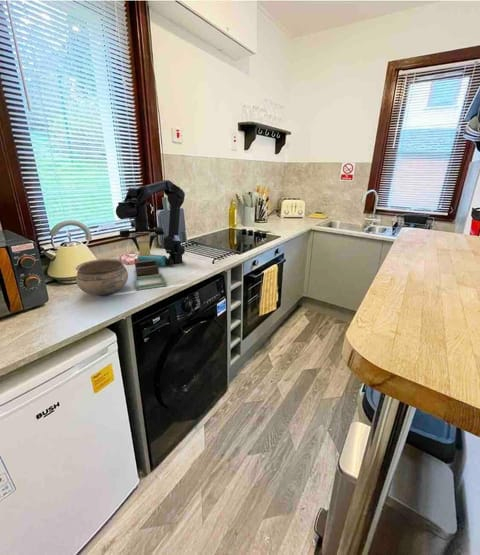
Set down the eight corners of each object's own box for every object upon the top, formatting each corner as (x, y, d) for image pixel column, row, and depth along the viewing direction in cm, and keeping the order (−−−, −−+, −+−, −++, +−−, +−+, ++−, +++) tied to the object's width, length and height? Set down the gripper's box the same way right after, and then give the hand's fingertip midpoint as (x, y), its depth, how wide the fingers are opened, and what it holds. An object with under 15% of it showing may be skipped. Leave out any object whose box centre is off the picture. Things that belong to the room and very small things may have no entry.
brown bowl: (66, 294, 112) (59, 266, 108) (108, 279, 127) (103, 254, 123) (103, 309, 100) (97, 278, 96) (144, 291, 115) (141, 264, 111)
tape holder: (135, 270, 139) (134, 261, 137) (156, 268, 142) (155, 258, 141) (137, 280, 127) (136, 270, 125) (159, 277, 130) (158, 267, 129)
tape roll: (139, 253, 129) (137, 239, 126) (149, 252, 130) (148, 238, 127) (140, 259, 123) (138, 244, 120) (151, 258, 125) (149, 243, 121)
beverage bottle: (133, 262, 142) (168, 265, 137) (136, 250, 144) (171, 253, 139) (139, 267, 148) (173, 270, 143) (142, 255, 150) (176, 258, 145)
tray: (162, 277, 130) (161, 273, 129) (166, 286, 120) (165, 282, 119) (135, 281, 125) (134, 277, 124) (136, 290, 116) (136, 286, 115)
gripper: (159, 212, 130) (163, 244, 136) (117, 214, 124) (122, 248, 129) (163, 216, 121) (166, 250, 126) (117, 218, 114) (122, 254, 120)
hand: (144, 250), depth 126 cm, fingers closed on tape roll, 4 cm apart
